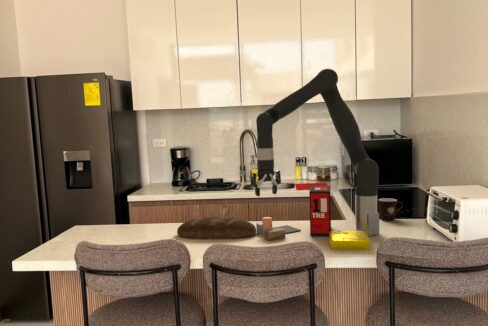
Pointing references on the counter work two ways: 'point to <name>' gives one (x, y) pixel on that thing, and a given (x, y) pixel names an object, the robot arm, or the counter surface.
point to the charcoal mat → (288, 229)
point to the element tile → (349, 240)
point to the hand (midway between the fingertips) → (266, 194)
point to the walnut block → (274, 234)
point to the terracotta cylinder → (266, 224)
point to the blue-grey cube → (259, 228)
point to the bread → (216, 228)
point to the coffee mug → (388, 208)
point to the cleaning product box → (320, 211)
